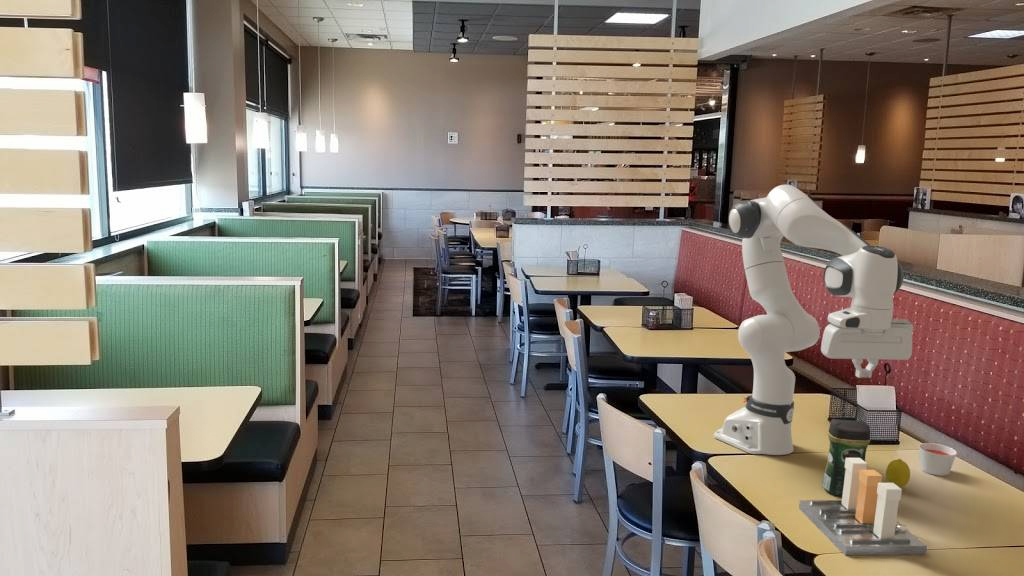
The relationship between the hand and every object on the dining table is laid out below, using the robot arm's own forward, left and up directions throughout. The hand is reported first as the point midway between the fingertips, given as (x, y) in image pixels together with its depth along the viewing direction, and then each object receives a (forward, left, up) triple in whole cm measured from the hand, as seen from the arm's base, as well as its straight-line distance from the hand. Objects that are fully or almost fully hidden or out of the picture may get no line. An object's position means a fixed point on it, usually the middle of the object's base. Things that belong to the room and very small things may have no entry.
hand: (863, 377), depth 182 cm
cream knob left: (+1, -1, -31) cm, 31 cm away
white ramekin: (+4, +45, -33) cm, 56 cm away
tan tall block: (+7, -6, -31) cm, 32 cm away
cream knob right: (+12, -10, -31) cm, 35 cm away
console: (+6, -7, -33) cm, 34 cm away
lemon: (+2, +24, -33) cm, 41 cm away
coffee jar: (-6, +11, -33) cm, 36 cm away
